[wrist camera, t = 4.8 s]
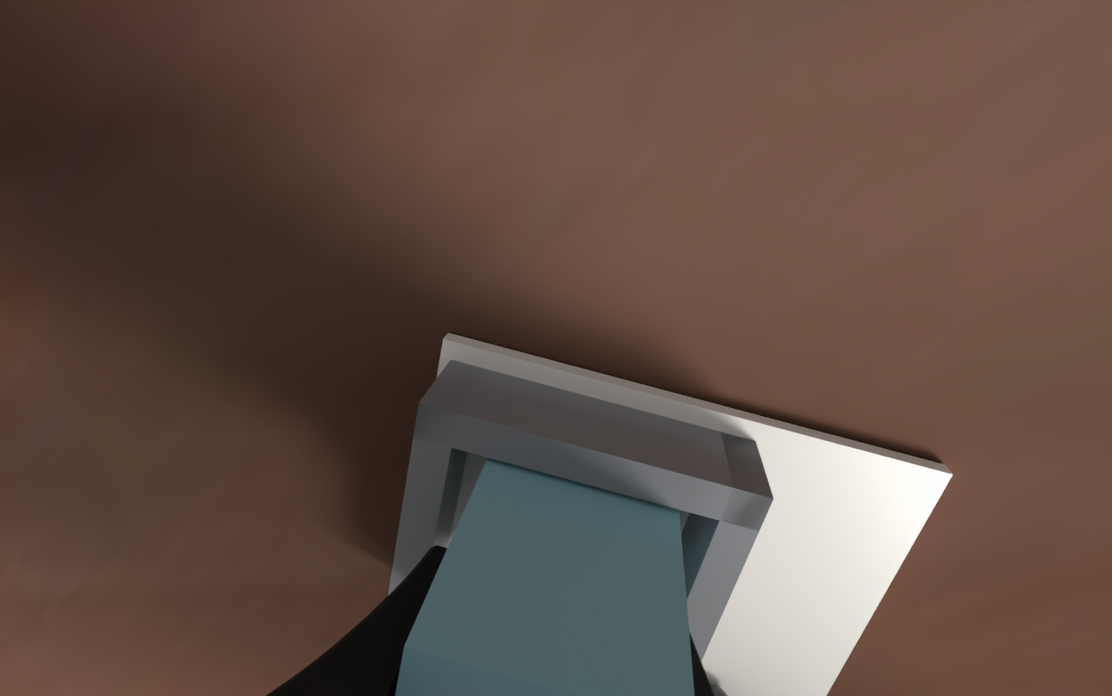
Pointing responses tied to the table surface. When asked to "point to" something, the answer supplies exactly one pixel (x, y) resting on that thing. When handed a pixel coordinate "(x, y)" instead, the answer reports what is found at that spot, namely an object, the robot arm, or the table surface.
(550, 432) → the end holder
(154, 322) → the table surface
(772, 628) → the board
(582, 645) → the pale blue cube
